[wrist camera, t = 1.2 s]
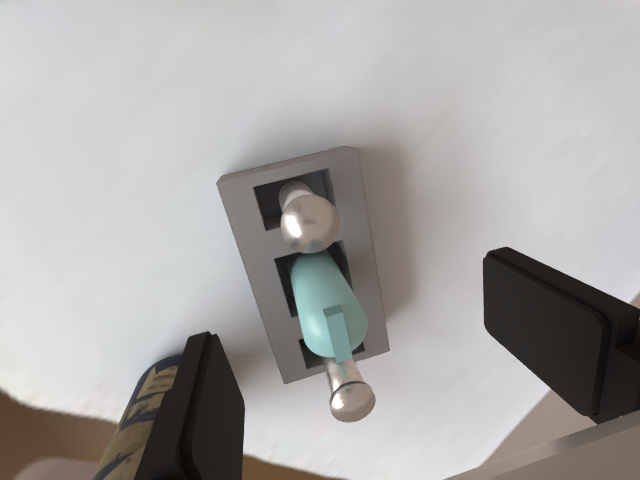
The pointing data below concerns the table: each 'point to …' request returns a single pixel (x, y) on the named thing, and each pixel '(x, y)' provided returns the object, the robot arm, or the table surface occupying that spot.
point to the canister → (137, 422)
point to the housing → (268, 244)
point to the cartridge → (326, 306)
